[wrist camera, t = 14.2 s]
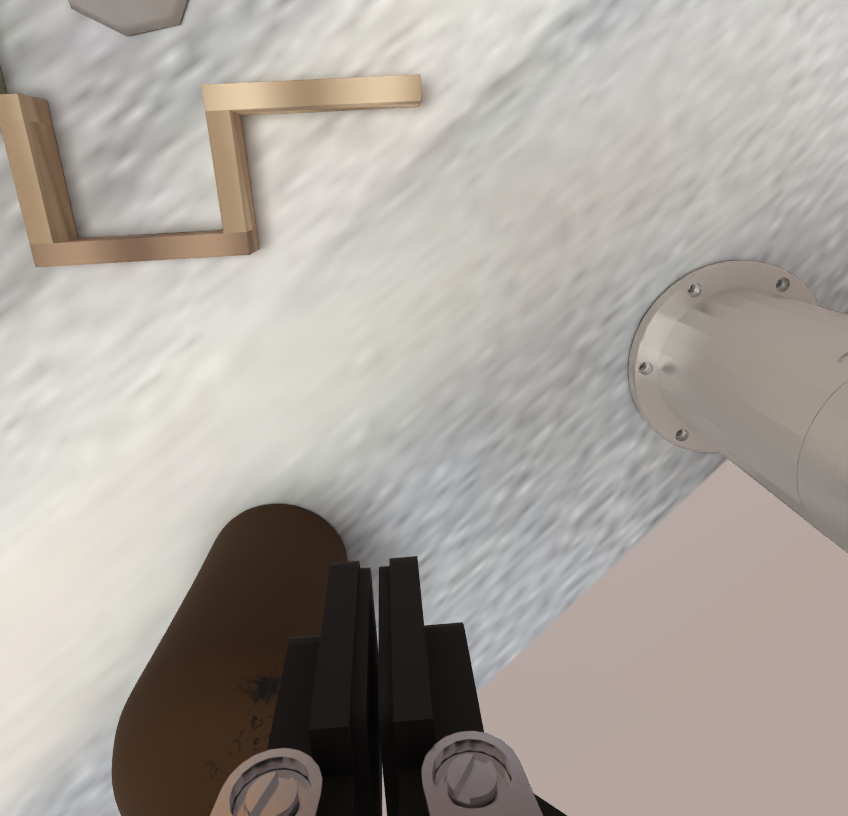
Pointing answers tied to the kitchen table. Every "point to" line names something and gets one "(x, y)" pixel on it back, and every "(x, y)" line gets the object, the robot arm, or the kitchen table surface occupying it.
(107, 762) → the kitchen table surface
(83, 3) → the flask
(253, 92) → the zigzag wooden frame
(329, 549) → the olive oil
